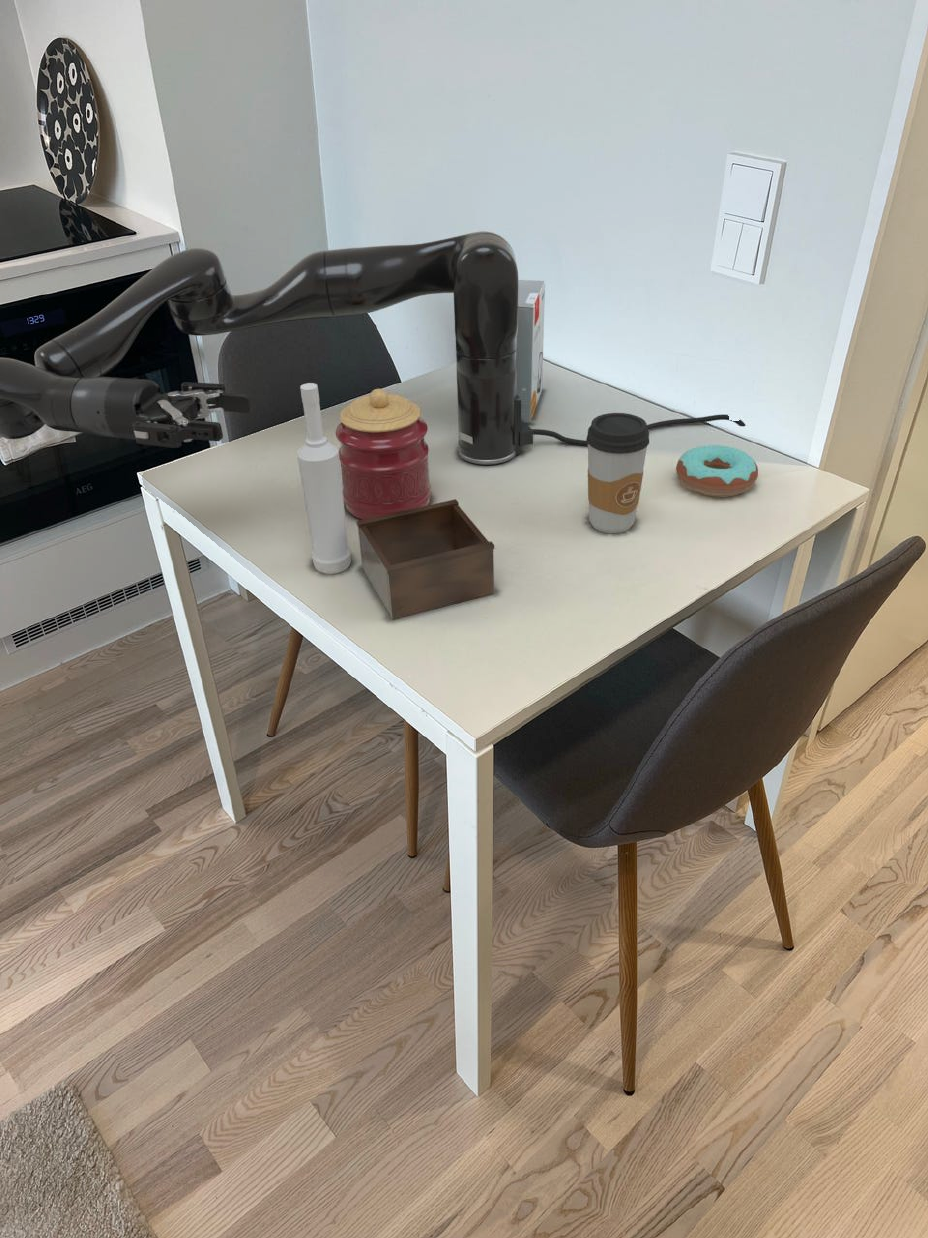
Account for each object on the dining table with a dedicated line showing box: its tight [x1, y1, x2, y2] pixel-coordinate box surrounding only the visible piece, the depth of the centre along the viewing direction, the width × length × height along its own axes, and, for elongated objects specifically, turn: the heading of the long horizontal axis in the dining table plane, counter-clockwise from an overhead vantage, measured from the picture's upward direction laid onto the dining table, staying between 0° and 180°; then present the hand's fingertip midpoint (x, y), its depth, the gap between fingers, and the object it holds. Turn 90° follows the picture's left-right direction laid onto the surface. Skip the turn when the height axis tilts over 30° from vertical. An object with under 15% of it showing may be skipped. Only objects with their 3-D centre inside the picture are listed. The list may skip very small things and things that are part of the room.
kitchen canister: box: [335, 388, 432, 520], centre depth 133 cm, size 13×13×18 cm
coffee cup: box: [585, 412, 650, 534], centre depth 127 cm, size 8×8×15 cm
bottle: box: [296, 382, 352, 575], centre depth 118 cm, size 5×5×25 cm
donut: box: [675, 444, 759, 498], centre depth 139 cm, size 12×12×4 cm
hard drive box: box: [516, 279, 546, 424], centre depth 160 cm, size 16×8×20 cm, turn 168°
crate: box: [355, 498, 495, 620], centre depth 119 cm, size 14×13×7 cm
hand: (236, 417), depth 116 cm, fingers open, 8 cm apart
